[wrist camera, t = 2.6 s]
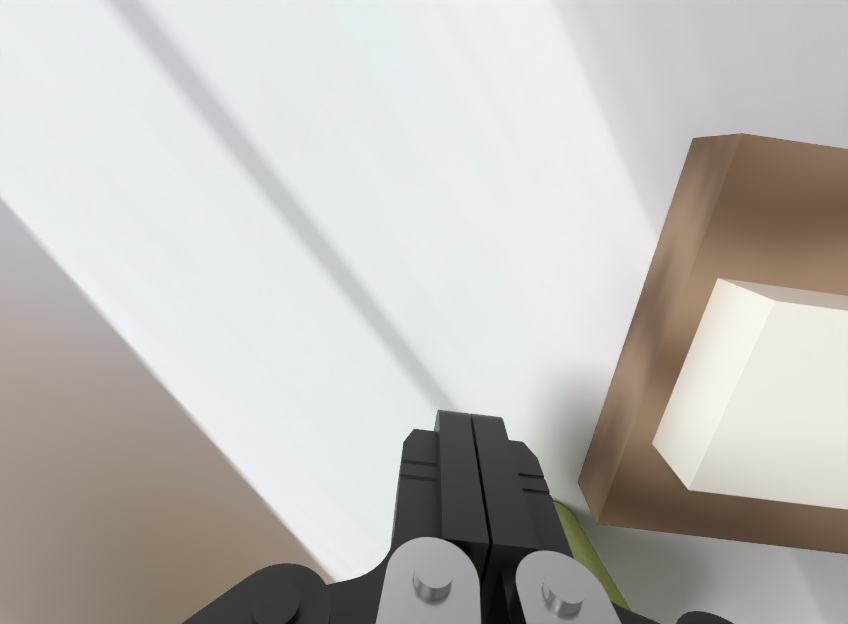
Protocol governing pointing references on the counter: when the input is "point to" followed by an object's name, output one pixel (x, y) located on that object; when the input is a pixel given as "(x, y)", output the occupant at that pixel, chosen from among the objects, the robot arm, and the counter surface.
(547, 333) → the counter surface
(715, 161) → the brown square board
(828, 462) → the tile
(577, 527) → the plant pot
